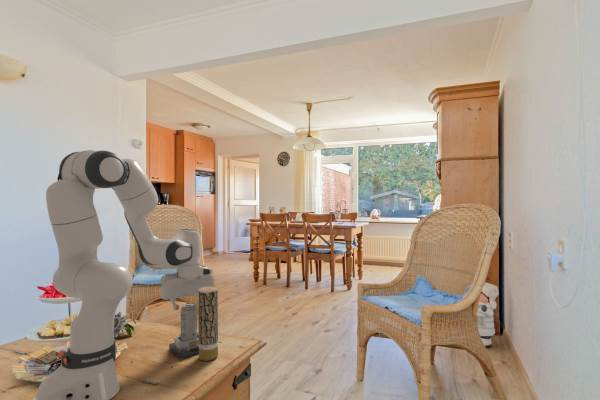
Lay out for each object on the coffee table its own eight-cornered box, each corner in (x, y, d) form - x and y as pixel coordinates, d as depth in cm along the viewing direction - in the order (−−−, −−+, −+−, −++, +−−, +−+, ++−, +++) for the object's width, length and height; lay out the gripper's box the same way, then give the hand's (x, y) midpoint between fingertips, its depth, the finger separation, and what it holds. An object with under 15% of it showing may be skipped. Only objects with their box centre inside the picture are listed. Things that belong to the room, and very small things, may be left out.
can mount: (180, 359, 123) (180, 345, 123) (169, 349, 132) (169, 336, 132) (208, 350, 131) (208, 337, 131) (196, 341, 139) (196, 329, 139)
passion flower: (111, 352, 142) (91, 330, 140) (124, 337, 153) (107, 317, 151) (131, 338, 140) (112, 316, 139) (144, 324, 151) (126, 303, 150)
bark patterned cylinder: (212, 362, 121) (212, 291, 121) (195, 360, 122) (195, 290, 122) (221, 354, 127) (220, 286, 128) (204, 352, 129) (204, 286, 129)
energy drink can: (197, 346, 130) (197, 306, 130) (180, 348, 128) (180, 308, 128) (196, 340, 135) (196, 302, 135) (180, 342, 133) (180, 303, 134)
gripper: (164, 275, 122) (163, 314, 122) (216, 269, 136) (216, 304, 135) (158, 273, 127) (157, 310, 127) (209, 267, 140) (208, 301, 140)
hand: (188, 307), depth 131 cm, fingers open, 8 cm apart
